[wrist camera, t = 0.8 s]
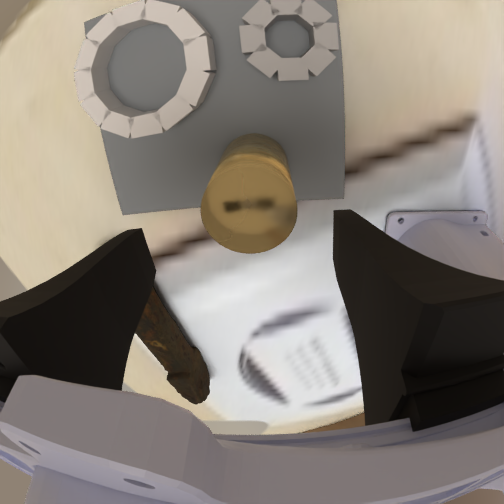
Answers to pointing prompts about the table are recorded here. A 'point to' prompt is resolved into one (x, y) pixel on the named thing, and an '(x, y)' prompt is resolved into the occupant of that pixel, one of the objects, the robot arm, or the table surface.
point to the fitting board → (213, 93)
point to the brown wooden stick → (173, 351)
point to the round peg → (250, 196)
